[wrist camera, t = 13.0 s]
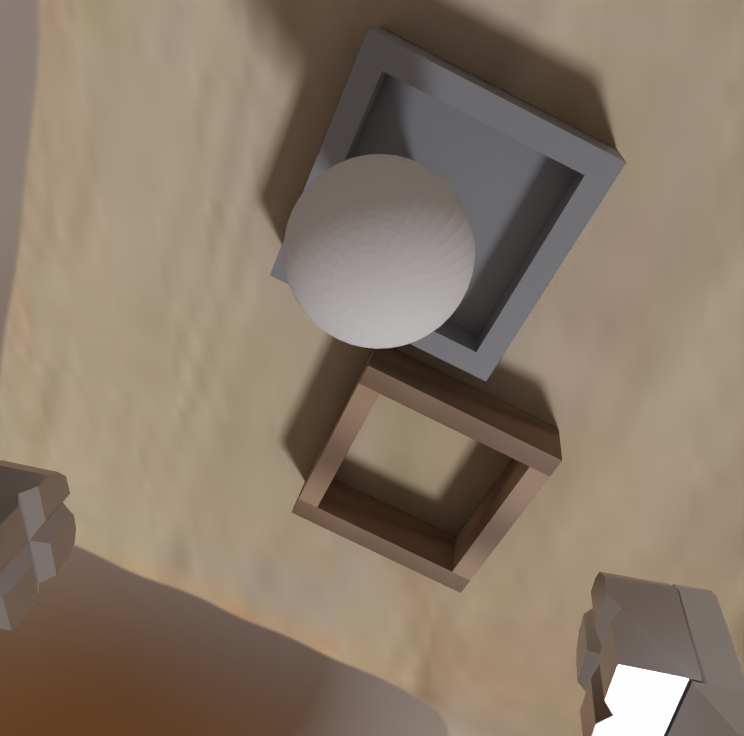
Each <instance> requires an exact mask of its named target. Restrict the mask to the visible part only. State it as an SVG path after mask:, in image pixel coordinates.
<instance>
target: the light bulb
mask: <svg viewBox="0 0 744 736" xmlns="http://www.w3.org/2000/svg"><path fill="white" fill-rule="evenodd" d="M474 261H475V240H474V234H473V228H472V225H471V222H470V219H469V216H468V213H467V210H466V209H465V207H464V205H463V203H462V201H461V199H460V198H459V196H458V195H457V194H456V192H455V191H454V190H453V189H452V187H451V186H450V185H449V184H448V183H447V182H446V181H445V180H444V179H443V178H442V177H441V176H440V175H438V174H437V173H436V172H434V171H433V170H431V169H430V168H428V167H427V166H425V165H423V164H420V163H418V162H416V161H414V160H412V159H408V158H404V157H401V156H397V155H387V154H371V155H363V156H359V157H354V158H350V159H348V160H346V161H343V162H341V163H338V164H336V165H334V166H333V167H331V168H329V169H328V170H326V171H325V172H323V173H322V174H321V175H320V176H318V177H317V178H316V179H315V180H314V181H313V182H312V183H311V184H310V185H309V186H308V187H307V188H306V190H305V191H304V192H303V193H302V195H301V196H300V198H299V199H298V201H297V203H296V205H295V206H294V208H293V210H292V212H291V215H290V218H289V221H288V223H287V227H286V232H285V238H284V265H285V272H286V276H287V279H288V282H289V285H290V288H291V290H292V292H293V295H294V297H295V299H296V301H297V302H298V304H299V305H300V307H301V308H302V309H303V311H304V312H305V314H306V315H307V316H308V317H309V318H310V319H311V320H312V321H313V322H314V323H315V324H316V325H317V326H319V327H320V328H321V329H322V330H324V331H325V332H326V333H328V334H330V335H331V336H333V337H335V338H337V339H339V340H341V341H344V342H346V343H348V344H352V345H356V346H360V347H365V348H375V349H378V348H392V347H398V346H403V345H406V344H409V343H412V342H415V341H417V340H419V339H421V338H423V337H425V336H427V335H429V334H430V333H432V332H433V331H434V330H436V329H437V328H439V327H440V326H441V325H442V324H443V323H444V322H445V321H446V320H447V319H448V318H449V317H450V316H451V315H452V314H453V312H454V311H455V310H456V308H457V307H458V306H459V304H460V303H461V301H462V299H463V297H464V295H465V293H466V291H467V289H468V286H469V283H470V280H471V277H472V274H473V268H474Z"/></svg>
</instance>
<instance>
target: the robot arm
mask: <svg viewBox="0 0 744 736" xmlns="http://www.w3.org/2000/svg"><path fill="white" fill-rule="evenodd" d="M69 494H70V492H69V487H68V483H67V479H66V476H64V475H62V474H60V473H59V472H55V471H50V470H46V469H41V468H36V467H31V466H27V465H22V464H17V463H12V462H8V461H3V460H1V461H0V629H5V630H10V631H11V630H12V629H13V628H14V627H15V626H16V624H17V623H18V622H19V621H20V619H21V618H22V617H23V616H24V614H25V613H26V612H27V611H28V610H29V608H30V607H31V606H32V605H33V603H34V602H35V601H36V600H37V598H38V597H39V587H38V584H39V583H41V582H43V581H44V580H47V579H48V578H50V577H53V576H54V575H57V573H58V572H59V571H60V569H61V568H62V567H63V565H64V564H65V562H66V561H67V560H68V557H69V555H70V552H71V550H72V548H73V545H74V543H75V532H76V526H75V519H74V515H73V514H72V513H71V512H70V511H69V509H68V508H67V507H66V506H65V505H64V503H63V502H64V501H65V499H66V498H67V497H68V495H69ZM591 596H592V605H593V609H591V610H589V611H588V612H586V613H584V615H583V619H582V623H581V626H580V630H579V636H578V643H577V661H576V666H577V679H578V682H579V684H580V685H581V686H582V688H583V689H584V690H585V692H586V694H585V697H584V700H583V703H582V706H581V709H580V714H581V724H582V734H583V736H744V675H743V672H742V669H741V666H740V663H739V660H738V657H737V654H736V652H735V649H734V646H733V643H732V640H731V637H730V634H729V631H728V628H727V625H726V622H725V619H724V616H723V614H722V611H721V608H720V605H719V602H718V599H717V596H716V595H715V594H714V593H713V592H712V591H710V590H704V589H698V588H692V587H686V586H680V585H670V584H666V583H660V582H655V581H649V580H643V579H638V578H632V577H626V576H621V575H615V574H609V573H604V572H599V574H598V575H597V577H596V578H595V581H594V584H593V587H592V590H591Z"/></svg>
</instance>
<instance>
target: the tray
mask: <svg viewBox="0 0 744 736" xmlns="http://www.w3.org/2000/svg"><path fill="white" fill-rule="evenodd" d="M371 154H387V155H397V156H401V157H404V158H408V159H412V160H414V161H416V162H418V163H420V164H423V165H425V166H427V167H428V168H430V169H431V170H433V171H434V172H436V173H437V174H438V175H440V176H441V177H442V178H443V179H444V180H445V181H446V182H447V183H448V184H449V185H450V186H451V187H452V189H453V190H454V191H455V192H456V194H457V195H458V196H459V198H460V199H461V201H462V203H463V205H464V207H465V209H466V210H467V213H468V216H469V219H470V222H471V225H472V228H473V234H474V240H475V261H474V268H473V274H472V277H471V280H470V283H469V286H468V289H467V291H466V293H465V295H464V297H463V299H462V301H461V303H460V304H459V306H458V307H457V308H456V310H455V311H454V312H453V314H452V315H451V316H450V317H449V318H448V319H447V320H446V321H445V322H444V323H443V324H442V325H441V326H440V327H439V328H437V329H436V330H434V331H433V332H432V333H430V334H429V335H427V336H425V337H423V338H421V339H419V340H417V341H415V342H412V343H409V344H411V345H413V346H415V347H417V348H419V349H421V350H423V351H425V352H427V353H429V354H431V355H433V356H435V357H437V358H439V359H441V360H443V361H445V362H447V363H449V364H451V365H454V366H456V367H458V368H460V369H462V370H464V371H466V372H468V373H470V374H472V375H474V376H476V377H478V378H480V379H482V380H484V381H487V379H488V378H489V376H490V375H491V373H492V372H493V370H494V368H495V367H496V365H497V364H498V362H499V361H500V359H501V358H502V356H503V354H504V353H505V351H506V350H507V348H508V347H509V345H510V343H511V342H512V340H513V339H514V337H515V336H516V334H517V332H518V331H519V329H520V328H521V326H522V325H523V323H524V322H525V320H526V318H527V317H528V315H529V314H530V312H531V311H532V309H533V307H534V306H535V304H536V303H537V301H538V300H539V298H540V296H541V295H542V293H543V292H544V290H545V289H546V287H547V285H548V284H549V282H550V281H551V279H552V278H553V276H554V275H555V273H556V271H557V270H558V268H559V267H560V265H561V264H562V262H563V260H564V259H565V257H566V256H567V254H568V253H569V251H570V249H571V248H572V246H573V245H574V243H575V242H576V240H577V238H578V237H579V235H580V234H581V232H582V231H583V229H584V228H585V226H586V224H587V223H588V221H589V220H590V218H591V217H592V215H593V213H594V212H595V210H596V209H597V207H598V206H599V204H600V202H601V201H602V199H603V198H604V196H605V195H606V193H607V192H608V190H609V188H610V187H611V185H612V184H613V182H614V181H615V179H616V177H617V176H618V174H619V173H620V171H621V170H622V168H623V166H624V165H625V163H626V161H625V160H624V159H623V157H622V156H621V154H620V153H619V152H618V150H617V149H616V148H614V147H612V146H610V145H608V144H606V143H604V142H602V141H600V140H598V139H596V138H594V137H592V136H591V135H589V134H587V133H585V132H583V131H581V130H579V129H577V128H575V127H573V126H571V125H569V124H567V123H565V122H564V121H562V120H560V119H558V118H556V117H554V116H552V115H550V114H548V113H546V112H544V111H542V110H540V109H538V108H536V107H535V106H533V105H531V104H529V103H527V102H525V101H523V100H521V99H519V98H517V97H515V96H513V95H511V94H509V93H508V92H506V91H504V90H502V89H500V88H498V87H496V86H494V85H492V84H490V83H488V82H486V81H484V80H482V79H480V78H479V77H477V76H475V75H473V74H471V73H469V72H467V71H465V70H463V69H461V68H459V67H457V66H455V65H453V64H452V63H450V62H448V61H446V60H444V59H442V58H440V57H438V56H436V55H434V54H432V53H430V52H428V51H426V50H424V49H423V48H421V47H419V46H417V45H415V44H413V43H411V42H409V41H407V40H405V39H403V38H401V37H399V36H397V35H396V34H394V33H392V32H390V31H388V30H386V29H384V28H382V27H375V28H369V29H368V30H367V32H366V35H365V37H364V40H363V42H362V45H361V47H360V50H359V52H358V55H357V57H356V60H355V62H354V65H353V67H352V70H351V72H350V75H349V77H348V80H347V83H346V85H345V88H344V90H343V93H342V95H341V98H340V100H339V103H338V105H337V108H336V110H335V113H334V115H333V118H332V120H331V123H330V125H329V128H328V130H327V133H326V135H325V138H324V140H323V143H322V145H321V148H320V150H319V153H318V156H317V158H316V161H315V163H314V166H313V168H312V171H311V173H310V176H309V178H308V181H307V183H306V186H305V188H304V191H305V190H306V188H307V187H308V186H309V185H310V184H311V183H312V182H313V181H314V180H315V179H316V178H317V177H318V176H320V175H321V174H322V173H323V172H325V171H326V170H328V169H329V168H331V167H333V166H334V165H336V164H338V163H341V162H343V161H346V160H348V159H350V158H354V157H359V156H363V155H371ZM304 191H303V192H304ZM270 275H271V276H273V277H275V278H277V279H279V280H281V281H283V282H285V283H287V284H289V282H288V279H287V276H286V272H285V265H284V241H283V244H282V246H281V249H280V251H279V254H278V256H277V259H276V261H275V264H274V266H273V269H272V271H271V274H270Z"/></svg>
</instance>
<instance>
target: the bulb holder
mask: <svg viewBox="0 0 744 736" xmlns="http://www.w3.org/2000/svg"><path fill="white" fill-rule="evenodd" d="M379 393H380V394H382V395H384V396H386V397H388V398H390V399H392V400H394V401H396V402H398V403H400V404H402V405H404V406H406V407H408V408H411V409H413V410H415V411H417V412H419V413H421V414H423V415H425V416H427V417H429V418H431V419H433V420H435V421H437V422H439V423H441V424H443V425H445V426H447V427H449V428H451V429H454V430H456V431H458V432H460V433H462V434H464V435H466V436H468V437H470V438H472V439H474V440H476V441H478V442H480V443H482V444H484V445H486V446H488V447H490V448H492V449H494V450H497V451H499V452H501V453H503V454H505V455H507V456H509V457H511V458H512V460H511V461H510V463H509V464H508V465H507V467H506V468H505V470H504V471H503V472H502V474H501V475H500V477H499V478H498V479H497V481H496V482H495V484H494V485H493V486H492V488H491V489H490V491H489V492H488V493H487V495H486V496H485V498H484V499H483V500H482V502H481V503H480V505H479V506H478V507H477V509H476V510H475V512H474V513H473V514H472V516H471V517H470V519H469V520H468V521H467V523H466V524H465V526H464V527H463V528H462V530H461V531H460V533H459V534H458V535H457V537H456V538H455V537H453V536H451V535H449V534H447V533H445V532H443V531H441V530H439V529H437V528H435V527H432V526H430V525H428V524H426V523H424V522H422V521H420V520H418V519H416V518H414V517H412V516H410V515H407V514H405V513H403V512H401V511H399V510H397V509H395V508H393V507H391V506H389V505H387V504H385V503H382V502H380V501H378V500H376V499H374V498H372V497H370V496H368V495H366V494H364V493H362V492H360V491H357V490H355V489H353V488H351V487H349V486H347V485H345V484H343V483H341V482H339V481H337V480H334V479H333V478H334V476H335V474H336V472H337V470H338V468H339V467H340V465H341V463H342V461H343V459H344V457H345V456H346V454H347V452H348V450H349V448H350V446H351V445H352V443H353V441H354V439H355V437H356V435H357V434H358V432H359V430H360V428H361V426H362V424H363V423H364V421H365V419H366V417H367V415H368V413H369V412H370V410H371V408H372V406H373V404H374V402H375V400H376V399H377V397H378V395H379ZM561 461H562V455H561V446H560V437H559V430H558V429H556V428H554V427H552V426H550V425H548V424H546V423H544V422H542V421H540V420H538V419H536V418H534V417H532V416H530V415H528V414H526V413H524V412H522V411H520V410H518V409H516V408H514V407H512V406H510V405H508V404H506V403H504V402H502V401H500V400H498V399H496V398H493V397H491V396H489V395H487V394H485V393H483V392H481V391H479V390H477V389H475V388H473V387H471V386H469V385H467V384H465V383H463V382H461V381H459V380H457V379H455V378H453V377H451V376H449V375H447V374H445V373H443V372H441V371H439V370H437V369H435V368H433V367H431V366H429V365H426V364H424V363H422V362H420V361H418V360H416V359H414V358H412V357H410V356H408V355H406V354H404V353H402V352H400V351H398V350H396V349H394V348H378V349H375V348H374V349H373V351H372V353H371V355H370V357H369V359H368V361H367V363H366V365H365V367H364V369H363V371H362V372H361V374H360V376H359V378H358V380H357V382H356V384H355V386H354V388H353V390H352V392H351V394H350V396H349V398H348V399H347V401H346V403H345V405H344V407H343V409H342V411H341V413H340V415H339V417H338V419H337V421H336V423H335V425H334V427H333V428H332V430H331V432H330V434H329V436H328V438H327V440H326V442H325V444H324V446H323V448H322V450H321V452H320V454H319V456H318V457H317V459H316V461H315V463H314V465H313V467H312V469H311V471H310V473H309V475H308V477H307V479H306V481H305V483H304V485H303V487H302V490H301V492H300V494H299V497H298V499H297V501H296V503H295V506H294V508H293V510H292V513H294V514H296V515H298V516H300V517H302V518H304V519H307V520H309V521H311V522H313V523H315V524H317V525H319V526H321V527H323V528H326V529H328V530H330V531H332V532H334V533H336V534H338V535H340V536H342V537H344V538H347V539H349V540H351V541H353V542H355V543H357V544H359V545H361V546H363V547H365V548H368V549H370V550H372V551H374V552H376V553H378V554H380V555H382V556H384V557H387V558H389V559H391V560H393V561H395V562H397V563H399V564H401V565H403V566H405V567H408V568H410V569H412V570H414V571H416V572H418V573H420V574H422V575H424V576H426V577H429V578H431V579H433V580H435V581H437V582H439V583H441V584H443V585H445V586H448V587H450V588H452V589H454V590H456V591H458V592H460V593H461V592H462V591H463V589H464V588H465V587H466V585H467V584H468V583H469V581H470V580H471V579H472V578H473V576H474V575H475V574H476V572H477V571H478V570H479V568H480V567H481V566H482V564H483V563H484V562H485V561H486V559H487V558H488V557H489V555H490V554H491V553H492V551H493V550H494V549H495V547H496V546H497V545H498V544H499V542H500V541H501V540H502V538H503V537H504V536H505V534H506V533H507V532H508V531H509V529H510V528H511V527H512V525H513V524H514V523H515V521H516V520H517V519H518V517H519V516H520V515H521V514H522V512H523V511H524V510H525V508H526V507H527V506H528V504H529V503H530V502H531V500H532V499H533V498H534V497H535V495H536V494H537V493H538V491H539V490H540V489H541V487H542V486H543V485H544V484H545V482H546V481H547V480H548V478H549V477H550V476H551V474H552V473H553V472H554V470H555V469H556V468H557V467H558V465H559V464H560V463H561Z"/></svg>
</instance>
